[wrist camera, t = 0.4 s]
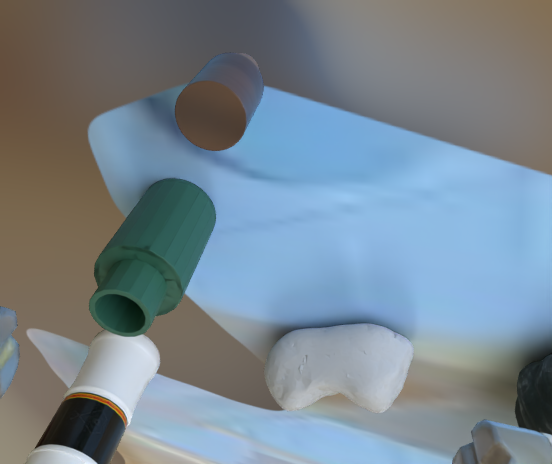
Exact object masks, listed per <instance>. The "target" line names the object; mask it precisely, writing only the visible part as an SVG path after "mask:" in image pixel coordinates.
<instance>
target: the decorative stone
mask: <svg viewBox="0 0 552 464" xmlns="http://www.w3.org/2000/svg"><path fill="white" fill-rule="evenodd" d="M413 355H414V349H413V345H412V343H411V342H410V341H409V340H408V339H407V338H405V337H404V336H402V335H400V334H398V333H396V332H393V331H392V330H390V329H388V328H386V327H383V326H379V325H375V324H368V323H362V324H349V325H338V326H332V327H325V328H306V329H299V330H294V331H291V332H289V333H287V334H286V335H285V336H283V337H282V338H281V339H280V340H279V341H278V342H277V343H276V344H275V345H274V346H273V347H272V349H271V351H270V352H269V354H268V357H267V360H266V363H265V368H264V373H265V380H266V383H267V385H268V387H269V390H270V392H271V395H272V396H273V398H274V399H275V400H276V402H277V403H278V404H279V405H280V406H281V407H282V408H283V409H284V410H287V411H295V410H299V409H301V408H305V407H308V406H310V405H311V404H313V403H314V402H315V401H317V400H318V399H320V398H322V397H324V396H329V395H335V394H337V393H342V394H343V395H345V396H346V397H347V398H348V399H350V400H351V401H353V402H354V403H355V404H357V405H358V406H360V407H363V408H365V409H367V410H369V411H371V412H374V413H381V412H384V411H386V410H387V409H388V408H389V407H390V406H391V405H392V403H393V401H394V400H395V399H396V397H397V396H398V395H399V393H400V392H401V390H402V388H403V385H404V381H405V379H406V376H407V374H408V368H409V365H410V363H411V362H412V358H413Z"/></svg>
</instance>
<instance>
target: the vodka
mask: <svg viewBox="0 0 552 464" xmlns="http://www.w3.org/2000/svg"><path fill="white" fill-rule="evenodd" d="M159 365H160V355H159V351H158V349H157V347H156V345H155V344H154V343H153V342H152V341H151V340H150V339H149V338H148V337H146V336H145V335H144V334H142V335H139V336H136V337H123V336H119V335H116V334H113V333H111V332H109V331H107V330H103V331H101V332H100V333H98V334H97V335H96V336H95V338H94V339H93V341H92V343H91V345H90V347H89V350H88V355H87V357H86V359H85V361H84V363H83V365H82V367H81V369H80V371H79V373H78V375H77V377H76V379H75V381H74V383H73V384H72V386H71V387H70V389H69V390H67V391H66V393H65V395H64V398H63V402H62V403H61V405H60V407H59V408H58V410H57V412H56V414H55V415H54V417H53V418H52V420H51V422H50V424H49V425H48V427H47V429H46V431H45V432H44V434H43V435H42V437H41V439H40V440H39V442H38V444H37V446H36V447H35V449H34V450H33V451H32V452H31V453H30V454H29V455H28V457H27V461H26V463H25V464H110V463H111V461H112V458H113V456H114V454H115V452H116V450H117V447H118V445H119V443H120V441H121V438H122V436H123V434H124V432H125V429H126V428H127V427H128V426H129V424H130V423H131V420H132V415H133V412H134V410H135V407H136V405H137V403H138V401H139V399H140V398H141V396H142V394H143V392H144V390H145V389H146V387H147V385H148V383H149V382H150V381H151V380H152V379H153V377H154V376H155V374H156V372H157V370H158V368H159Z"/></svg>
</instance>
